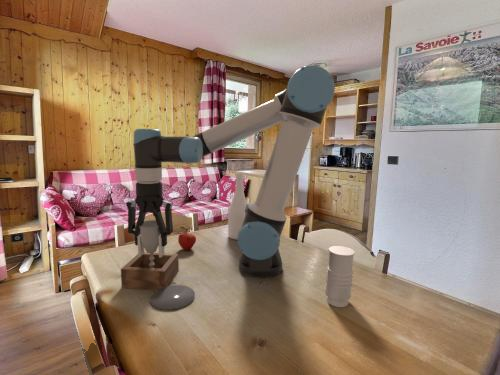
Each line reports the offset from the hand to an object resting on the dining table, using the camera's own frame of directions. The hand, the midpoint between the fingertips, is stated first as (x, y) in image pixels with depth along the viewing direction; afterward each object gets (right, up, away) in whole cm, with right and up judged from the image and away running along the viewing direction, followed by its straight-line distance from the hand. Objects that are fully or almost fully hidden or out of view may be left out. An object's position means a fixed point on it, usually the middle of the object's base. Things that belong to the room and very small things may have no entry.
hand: (151, 255), depth 89 cm
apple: (+5, -4, +26) cm, 27 cm away
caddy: (0, -8, +1) cm, 8 cm away
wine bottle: (+25, -2, +43) cm, 50 cm away
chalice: (0, -8, +1) cm, 8 cm away
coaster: (+9, -10, -9) cm, 16 cm away
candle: (+55, -11, -9) cm, 57 cm away
